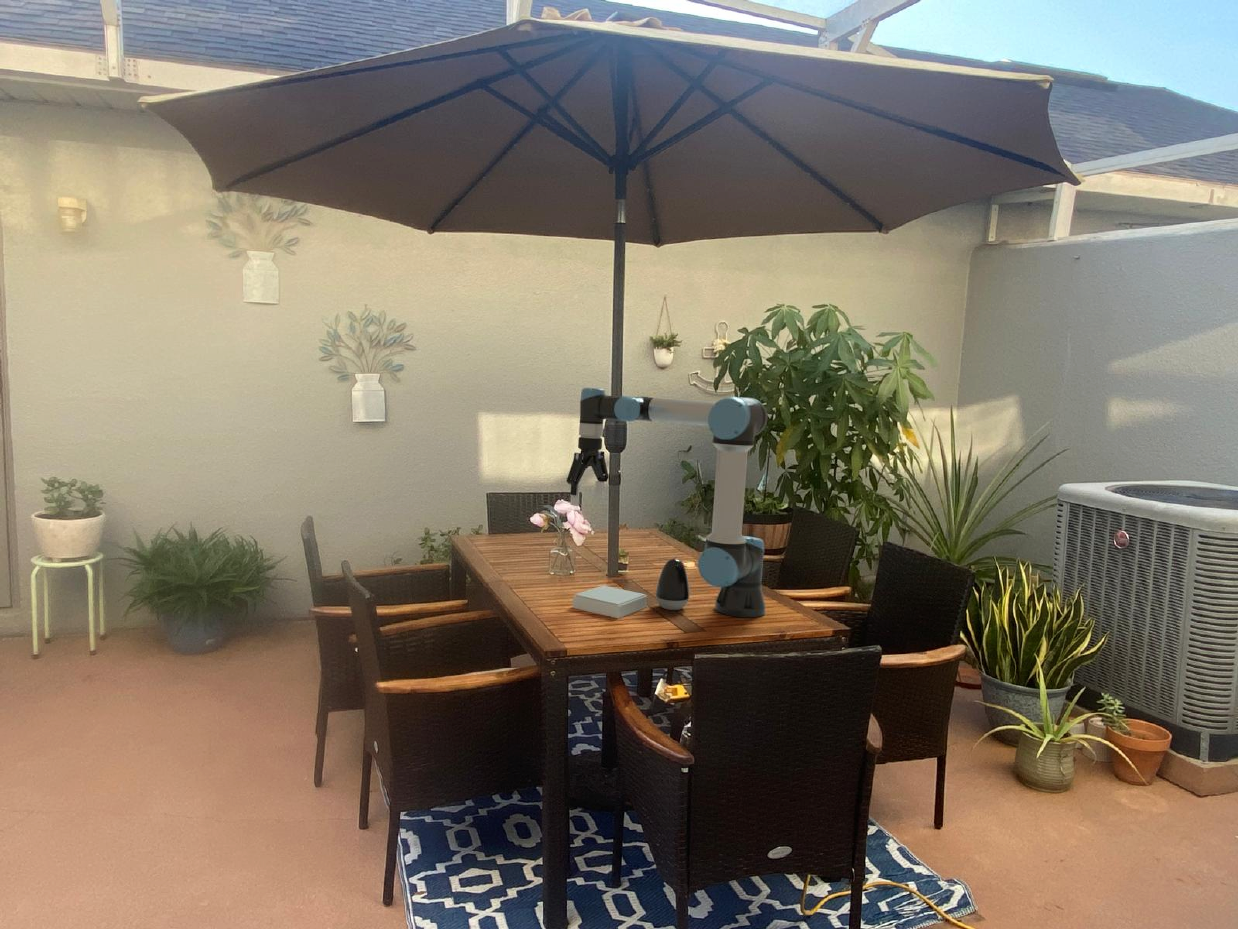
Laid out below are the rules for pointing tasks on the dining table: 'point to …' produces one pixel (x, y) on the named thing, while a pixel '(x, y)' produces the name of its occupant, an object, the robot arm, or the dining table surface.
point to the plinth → (610, 601)
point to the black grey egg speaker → (673, 586)
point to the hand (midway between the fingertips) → (586, 503)
